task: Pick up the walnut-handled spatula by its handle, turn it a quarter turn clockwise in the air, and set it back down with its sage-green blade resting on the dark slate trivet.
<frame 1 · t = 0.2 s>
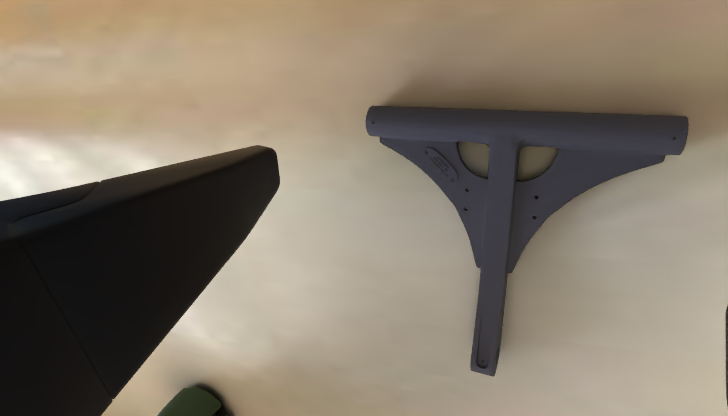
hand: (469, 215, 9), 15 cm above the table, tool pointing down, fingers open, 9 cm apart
bracket: (497, 242, 25), on the table
character mug: (210, 408, 41), on the table
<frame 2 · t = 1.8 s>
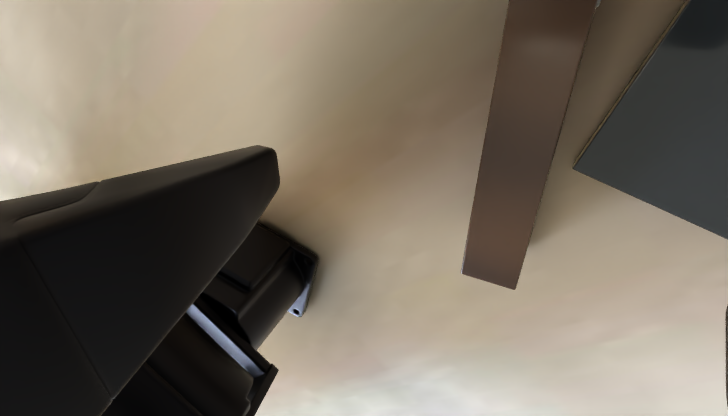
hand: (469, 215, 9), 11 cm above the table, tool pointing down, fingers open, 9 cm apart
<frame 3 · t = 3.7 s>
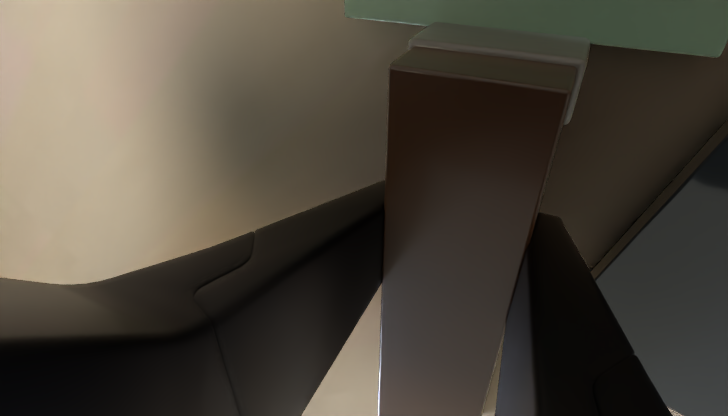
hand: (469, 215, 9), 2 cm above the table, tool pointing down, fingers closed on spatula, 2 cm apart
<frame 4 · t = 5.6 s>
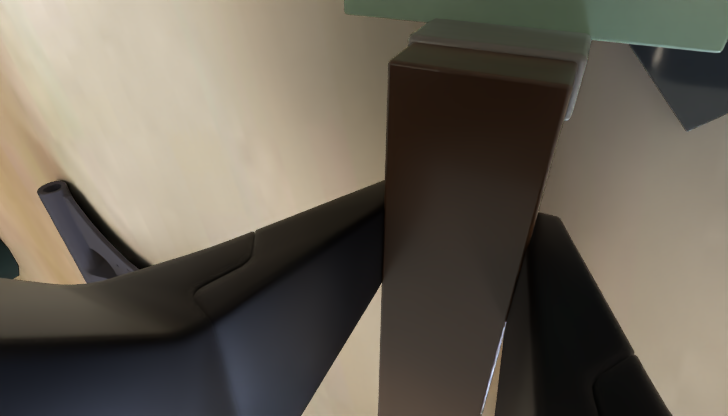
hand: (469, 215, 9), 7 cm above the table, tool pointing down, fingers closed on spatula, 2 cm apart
bracket: (172, 286, 31), on the table
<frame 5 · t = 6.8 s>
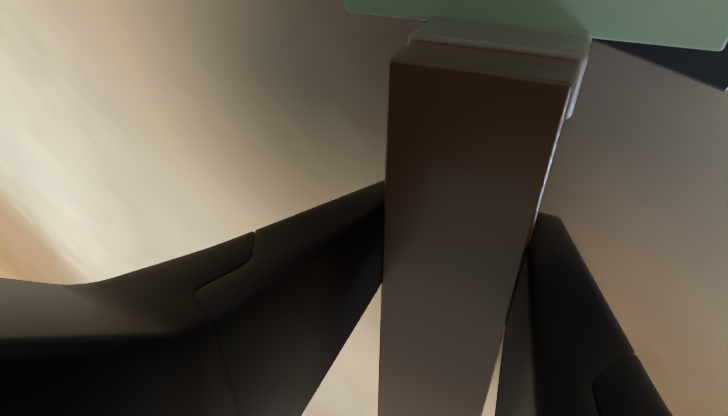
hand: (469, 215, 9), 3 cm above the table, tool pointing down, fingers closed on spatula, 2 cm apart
when the fingers open (2 cm above the table, at t = 7.4 s): spatula stays where it is, resting on trivet.
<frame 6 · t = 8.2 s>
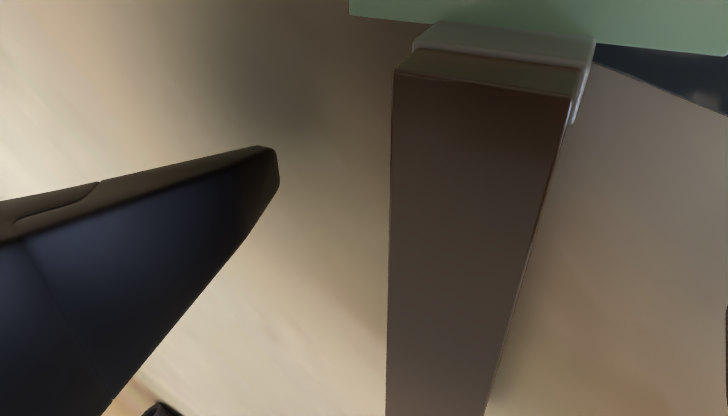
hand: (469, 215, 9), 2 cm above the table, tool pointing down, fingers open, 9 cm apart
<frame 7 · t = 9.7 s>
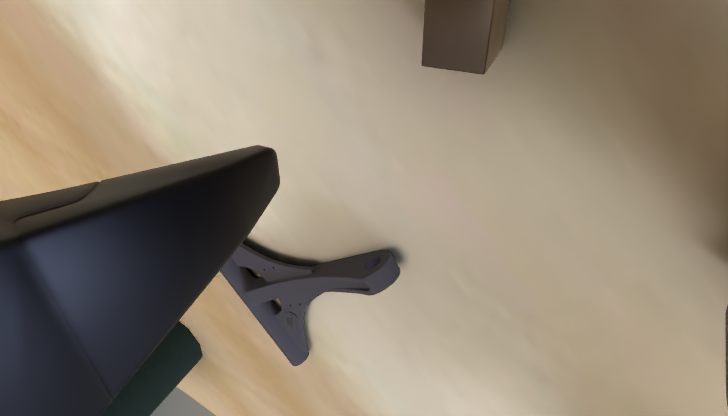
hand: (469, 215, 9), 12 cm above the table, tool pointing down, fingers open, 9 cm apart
bracket: (317, 272, 31), on the table
wine bottle: (174, 340, 48), on the table
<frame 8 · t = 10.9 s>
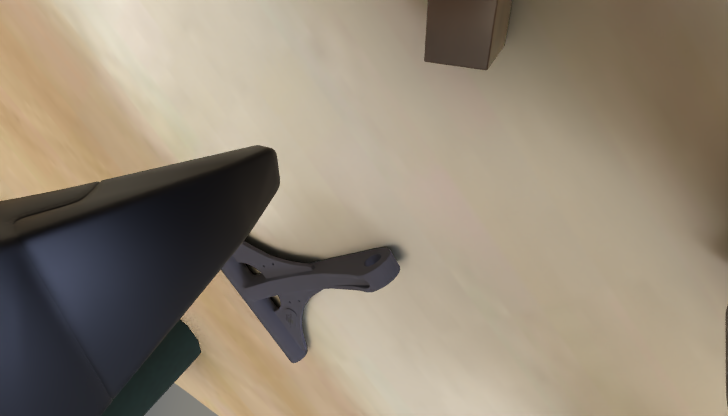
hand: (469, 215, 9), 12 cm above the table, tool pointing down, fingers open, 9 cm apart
bracket: (316, 269, 31), on the table
wine bottle: (172, 336, 48), on the table
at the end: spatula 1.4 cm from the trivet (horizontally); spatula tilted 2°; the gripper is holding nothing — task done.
